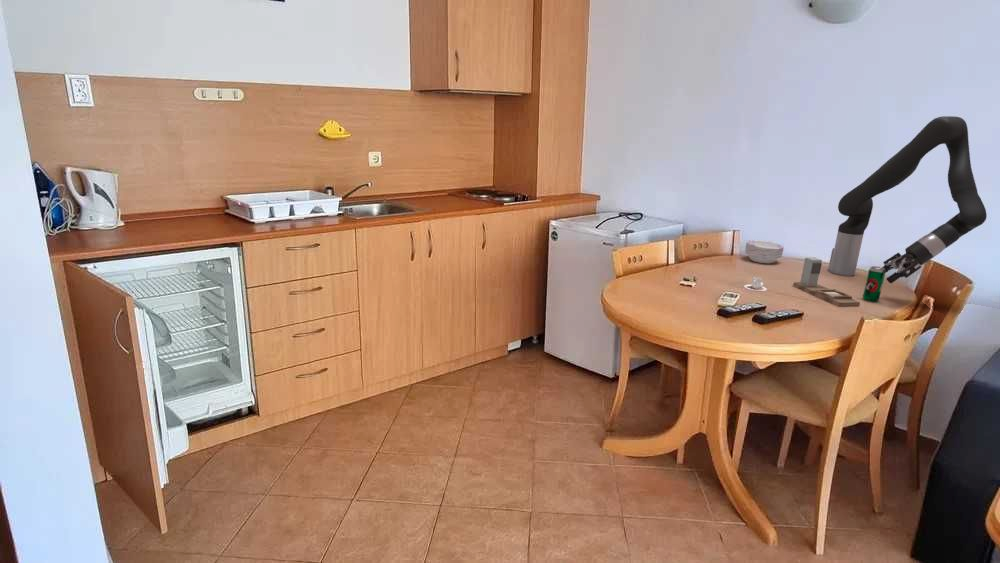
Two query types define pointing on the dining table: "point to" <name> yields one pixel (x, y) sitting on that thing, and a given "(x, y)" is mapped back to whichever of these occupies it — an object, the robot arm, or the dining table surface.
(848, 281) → the dining table surface
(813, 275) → the grey post
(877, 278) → the soda can
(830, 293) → the brown flat tray
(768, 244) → the paper bowls
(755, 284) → the teacup and saucer
